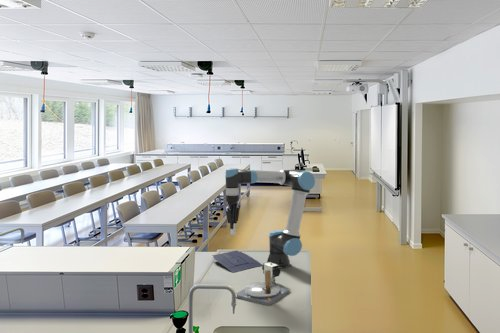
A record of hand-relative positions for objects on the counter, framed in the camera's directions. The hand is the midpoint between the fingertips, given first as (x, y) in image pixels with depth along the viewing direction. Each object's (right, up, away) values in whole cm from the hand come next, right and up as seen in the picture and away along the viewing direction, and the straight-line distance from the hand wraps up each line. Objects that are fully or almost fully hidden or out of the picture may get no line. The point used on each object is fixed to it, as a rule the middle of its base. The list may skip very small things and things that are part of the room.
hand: (233, 234), depth 259 cm
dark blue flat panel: (+1, -26, +36) cm, 44 cm away
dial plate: (+17, -30, -20) cm, 40 cm away
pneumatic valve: (+23, -28, -1) cm, 37 cm away
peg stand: (+17, -28, -20) cm, 39 cm away
